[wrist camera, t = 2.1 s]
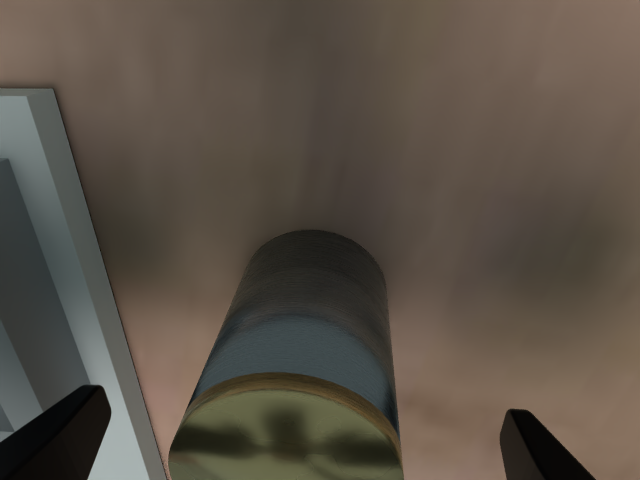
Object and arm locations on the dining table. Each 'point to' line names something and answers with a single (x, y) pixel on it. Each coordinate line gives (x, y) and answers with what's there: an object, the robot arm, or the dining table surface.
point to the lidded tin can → (297, 372)
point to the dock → (59, 292)
